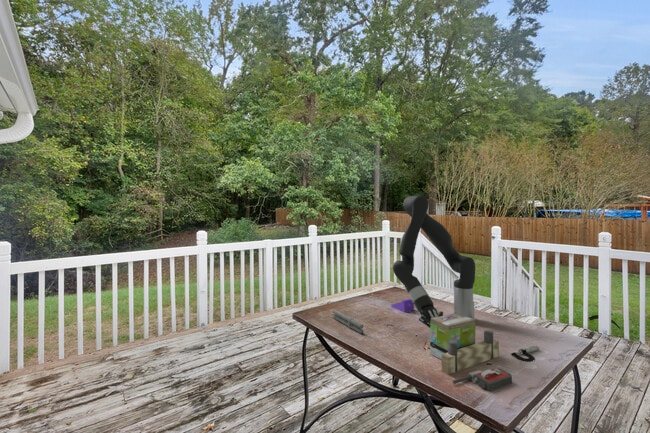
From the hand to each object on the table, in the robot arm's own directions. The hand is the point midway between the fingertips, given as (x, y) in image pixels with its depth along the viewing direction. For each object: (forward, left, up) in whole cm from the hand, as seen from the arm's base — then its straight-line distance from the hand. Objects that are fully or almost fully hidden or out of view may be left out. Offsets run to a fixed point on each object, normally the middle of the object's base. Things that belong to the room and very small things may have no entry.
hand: (442, 335), depth 134 cm
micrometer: (-26, +21, -6) cm, 34 cm away
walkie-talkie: (+8, +25, -6) cm, 27 cm away
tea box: (0, +6, -6) cm, 8 cm away
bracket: (-22, -50, -6) cm, 54 cm away
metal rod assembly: (+20, -43, -6) cm, 48 cm away
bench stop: (0, +14, -6) cm, 15 cm away
